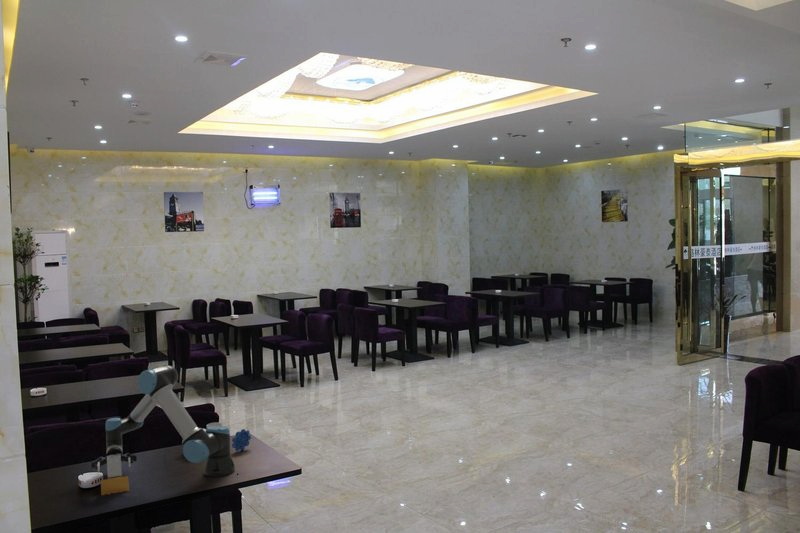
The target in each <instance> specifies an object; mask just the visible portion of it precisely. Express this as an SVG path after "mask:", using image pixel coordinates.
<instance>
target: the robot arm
mask: <svg viewBox="0 0 800 533" xmlns="http://www.w3.org/2000/svg"><path fill="white" fill-rule="evenodd" d="M178 380H179V373H178V370H177V369H176V368H175V367H174V366H172V365H168V364H165V365H161V366H156V367H154V368H149V369H147V370H143V371H142V372H141V373H140V374H139V375H138V379H137V387H138V390H139V391H140V393H142V394H144V396H143V398H141V400H140V401H139V402H138V404H137V405H136V406H135V407H134V409H133V410H132V411H131V412H130V413H129V414H128V416H126V417H125V418H120V417H112V418H108V419H106V421H105V427H104V428H105V439H106V441H105V442H106V454H105V457H103V456H102V455H101V456H99V457H97V458H96V459H95V460H93V461H91V463H90V464H91V465H90V466H91V469H93V468H94V469H95V470H97V472H98V473H99V472H100V470H101V467H102V466H104V465H107V456H110V455H117V454H121V463H122V462H127V463H128V467H129V468H131V465H132V464H133V463H134V462H137V458H138V457H137V455H136V454H133V453H130V452H125V454H123V448H124V447H123V435H124V434H127V433H129V432H131V431H136V430H138V429H140V428H141V427H143V425H144V422H145V421H144V420H145V419H146V417H147V416H148V415H149V414H150V413H151V412H152V411H153V409H154V408H155V407H156V405H159V406H160V408H161V409H162V410H163V412H164V414H166V416H167V418H168V419H169V420H170V422H171V423H172V425H173V426H174V428H175V429H176V431H177V432H178V433H179V435H180V436H181V438H182V442H181V444H182V445H183V447H182V453H183V456H184V458H185V459H186V460H187V461H188V462H190V463H192V464H193V463H194V464H198V463H201V462H204V461H205V464H204V468H203V474H204V475H205V476H206V477H213V478H217V477H223V476H229V475H230V474H232V473H234V472H235V470H236V468H235V462H234V461H233V458H232V456H231V433H230V428H228V426H223V425H222V426H214V427H208V428H207V427H206V428H205V429H206V431H204V430H203V428H202V427H198V425H197V424H196V422H195V421H194V420H193V418H192V416H191V415H190V414H189V412H188V410H186V408H185V407H184V406H183V403H182V402H181V401H180V399H179V397H178V396H177V395H176V393H174V392H175V391H173V388H174V387H175V386H176V384H177V382H178ZM205 432H206V433H205Z"/></svg>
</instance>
